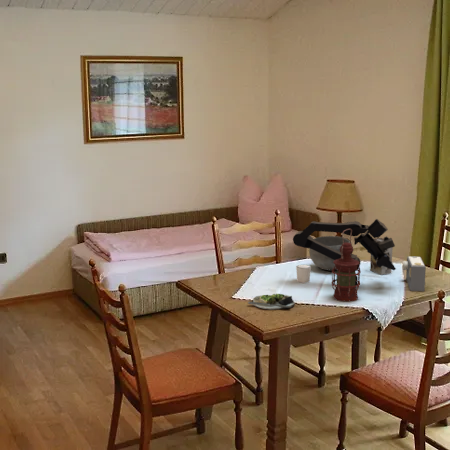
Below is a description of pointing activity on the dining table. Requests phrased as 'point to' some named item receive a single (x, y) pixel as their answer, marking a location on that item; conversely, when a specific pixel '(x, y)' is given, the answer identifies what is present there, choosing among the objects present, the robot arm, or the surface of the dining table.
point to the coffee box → (382, 269)
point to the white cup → (303, 273)
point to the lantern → (346, 274)
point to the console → (416, 274)
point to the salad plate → (273, 301)
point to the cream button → (405, 265)
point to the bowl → (321, 259)
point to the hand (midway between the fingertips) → (394, 269)
